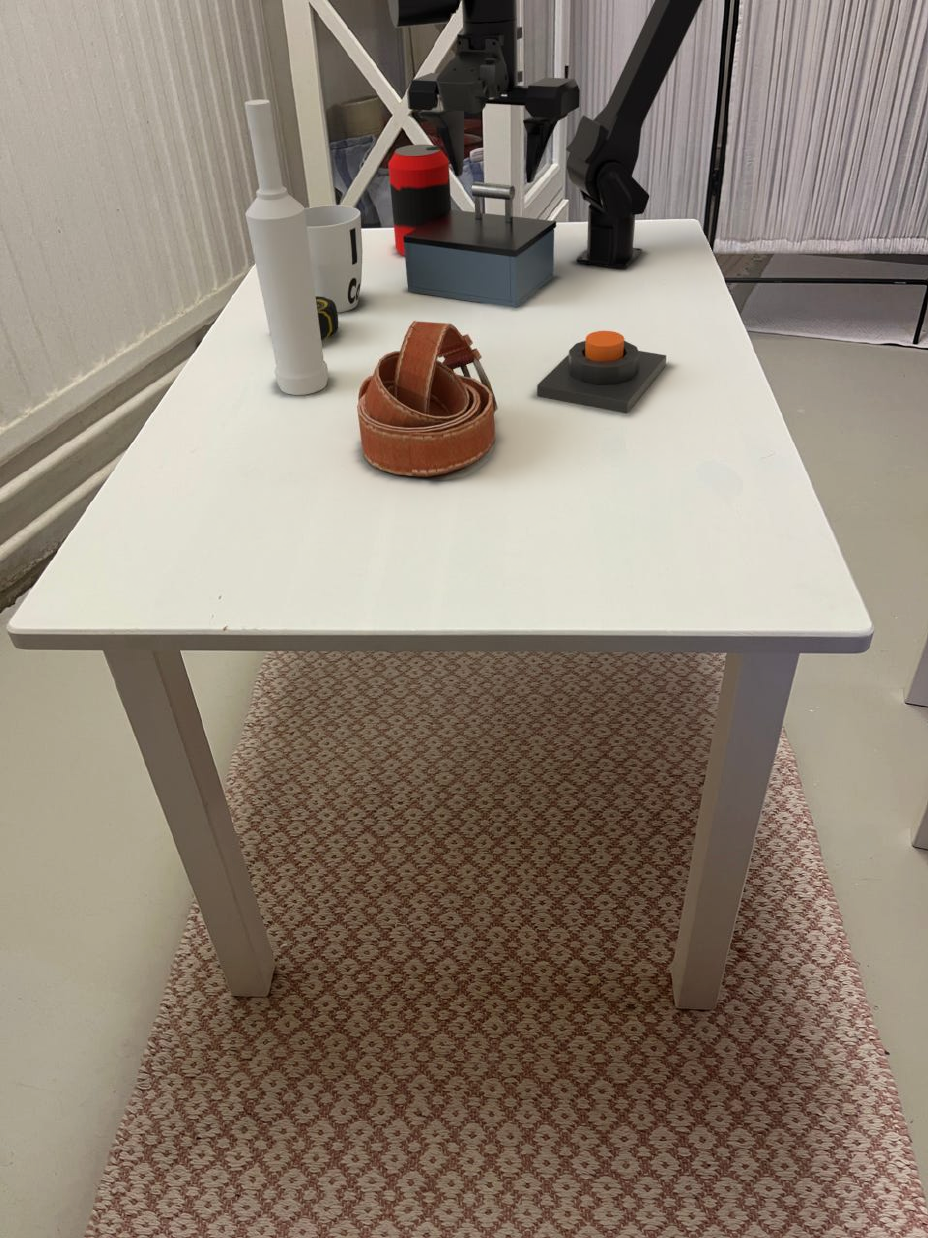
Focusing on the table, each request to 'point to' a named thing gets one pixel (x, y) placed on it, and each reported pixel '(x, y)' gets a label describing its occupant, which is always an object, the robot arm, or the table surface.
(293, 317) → the bottle
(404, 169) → the soda can
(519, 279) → the storage case
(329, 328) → the tape measure
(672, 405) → the table surface
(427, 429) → the belt
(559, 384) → the block
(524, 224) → the box lid
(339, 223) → the cup
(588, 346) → the button
